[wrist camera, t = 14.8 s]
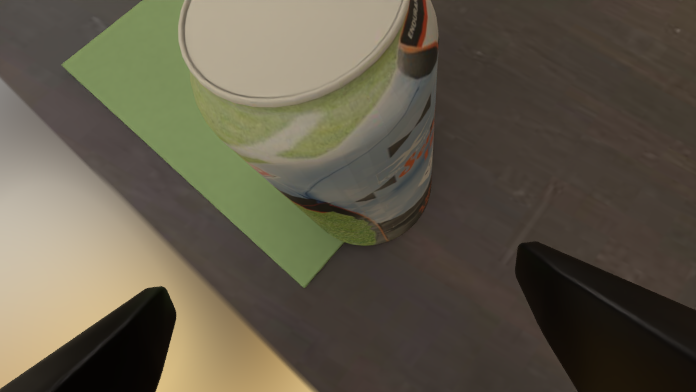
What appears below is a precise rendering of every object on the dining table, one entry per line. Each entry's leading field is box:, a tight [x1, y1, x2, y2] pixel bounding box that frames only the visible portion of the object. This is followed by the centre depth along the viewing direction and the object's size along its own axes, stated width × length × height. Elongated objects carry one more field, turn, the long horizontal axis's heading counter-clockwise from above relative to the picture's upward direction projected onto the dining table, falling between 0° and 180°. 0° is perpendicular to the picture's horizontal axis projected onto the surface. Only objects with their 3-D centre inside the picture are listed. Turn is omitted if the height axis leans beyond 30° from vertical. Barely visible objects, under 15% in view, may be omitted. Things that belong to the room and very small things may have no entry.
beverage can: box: [178, 0, 439, 246], centre depth 12 cm, size 6×7×12 cm
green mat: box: [62, 0, 344, 288], centre depth 20 cm, size 10×20×1 cm, turn 49°
